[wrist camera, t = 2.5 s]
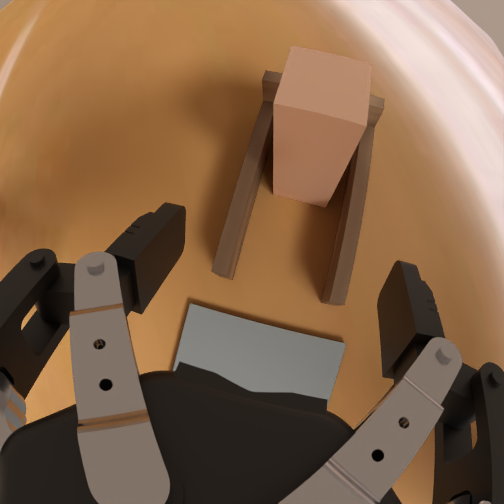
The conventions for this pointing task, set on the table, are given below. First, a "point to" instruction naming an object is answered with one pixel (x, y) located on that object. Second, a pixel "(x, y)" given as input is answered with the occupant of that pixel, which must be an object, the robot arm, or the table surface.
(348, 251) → the brown u-shaped rail
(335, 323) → the table surface
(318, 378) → the mat
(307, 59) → the block
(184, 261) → the table surface
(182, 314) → the table surface
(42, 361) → the robot arm
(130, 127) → the table surface
